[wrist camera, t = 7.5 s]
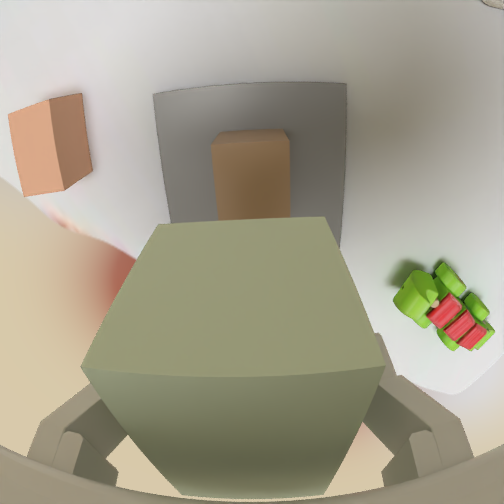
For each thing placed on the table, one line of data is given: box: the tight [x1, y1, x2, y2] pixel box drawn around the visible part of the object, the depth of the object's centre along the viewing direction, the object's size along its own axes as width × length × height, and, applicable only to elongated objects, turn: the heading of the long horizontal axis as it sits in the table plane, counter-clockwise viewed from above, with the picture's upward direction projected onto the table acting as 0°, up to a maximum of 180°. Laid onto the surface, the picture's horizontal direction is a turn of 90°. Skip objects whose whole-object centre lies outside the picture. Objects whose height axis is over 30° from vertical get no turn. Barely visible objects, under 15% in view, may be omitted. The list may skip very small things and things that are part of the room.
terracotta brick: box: [8, 93, 93, 197], centre depth 20 cm, size 4×7×5 cm, turn 2°
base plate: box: [153, 82, 346, 249], centre depth 22 cm, size 14×14×6 cm
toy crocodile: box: [393, 262, 495, 351], centre depth 28 cm, size 20×7×6 cm, turn 56°
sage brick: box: [81, 217, 386, 499], centre depth 8 cm, size 4×7×5 cm, turn 3°
